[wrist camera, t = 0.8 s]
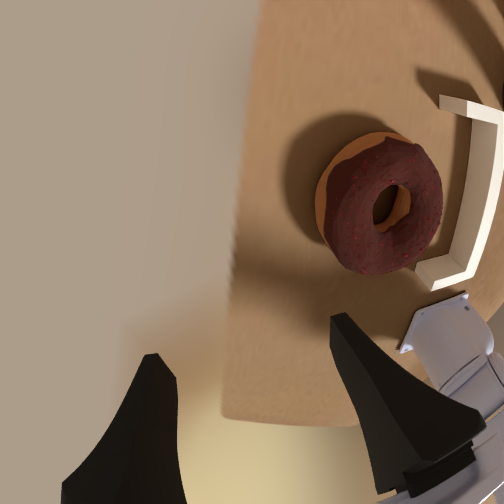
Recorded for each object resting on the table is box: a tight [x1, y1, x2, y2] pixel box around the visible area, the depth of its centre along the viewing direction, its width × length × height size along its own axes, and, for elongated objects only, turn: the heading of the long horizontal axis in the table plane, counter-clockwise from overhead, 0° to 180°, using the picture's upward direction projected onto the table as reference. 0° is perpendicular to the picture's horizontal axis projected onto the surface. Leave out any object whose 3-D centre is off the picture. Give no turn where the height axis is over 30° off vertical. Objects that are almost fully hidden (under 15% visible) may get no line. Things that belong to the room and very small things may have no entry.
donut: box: [315, 132, 443, 275], centre depth 17 cm, size 10×10×4 cm
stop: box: [415, 94, 504, 291], centre depth 18 cm, size 6×16×3 cm, turn 6°
